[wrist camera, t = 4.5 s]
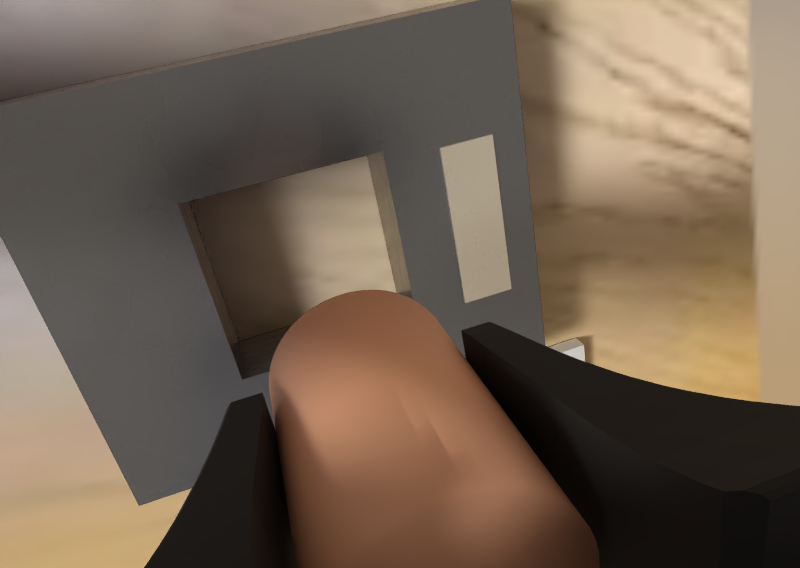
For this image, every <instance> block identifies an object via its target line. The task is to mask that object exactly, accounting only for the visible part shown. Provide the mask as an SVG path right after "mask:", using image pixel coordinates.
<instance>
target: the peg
mask: <svg viewBox="0 0 800 568" xmlns="http://www.w3.org/2000/svg"><path fill="white" fill-rule="evenodd" d="M269 392H270V398H271V405H272V411H273V417H274V424H275V430H276V437H277V443H278V450H279V456H280V463H281V469H282V476H283V482H284V489H285V495H286V502H287V508H288V515H289V521H290V527H291V534H292V540H293V547H294V553H295V560H296V566H297V568H599V567H600V561H599V550H598V546H597V542H596V539H595V537H594V535H593V533H592V531H591V529H590V527H589V526H588V524H587V523H586V522H585V520H584V519H583V518H582V516H581V515H580V513H579V512H578V511H577V509H576V508H575V507H574V505H573V504H572V503H571V501H570V500H569V498H568V497H567V496H566V494H565V493H564V492H563V490H562V489H561V488H560V486H559V485H558V484H557V482H556V481H555V479H554V478H553V477H552V475H551V474H550V473H549V471H548V470H547V469H546V467H545V466H544V465H543V463H542V462H541V460H540V459H539V458H538V456H537V455H536V454H535V452H534V451H533V450H532V448H531V447H530V446H529V444H528V443H527V441H526V440H525V439H524V437H523V436H522V435H521V433H520V432H519V431H518V429H517V428H516V426H515V425H514V424H513V422H512V421H511V420H510V418H509V417H508V416H507V414H506V413H505V412H504V410H503V409H502V407H501V406H500V405H499V403H498V402H497V401H496V399H495V398H494V397H493V395H492V394H491V393H490V391H489V390H488V388H487V387H486V386H485V384H484V383H483V382H482V380H481V379H480V378H479V376H478V375H477V373H476V372H475V371H474V369H473V368H472V367H471V365H470V364H469V363H468V361H467V360H466V359H465V357H464V356H463V354H462V353H461V352H460V350H459V349H458V348H457V346H456V345H455V344H454V342H453V341H452V340H451V338H450V337H449V335H448V334H447V333H446V331H445V330H444V329H443V327H442V326H441V325H440V323H439V322H438V321H437V319H436V318H435V317H434V315H433V314H432V313H431V312H430V311H429V310H428V309H427V308H425V307H424V306H422V305H421V304H420V303H418V302H417V301H415V300H413V299H411V298H409V297H407V296H404V295H401V294H398V293H394V292H389V291H382V290H361V291H355V292H349V293H345V294H342V295H339V296H335V297H333V298H331V299H328V300H326V301H324V302H322V303H320V304H319V305H317V306H315V307H313V308H312V309H310V310H309V311H308V312H306V313H305V314H304V315H302V316H301V317H300V318H299V319H298V320H297V321H296V322H295V323H294V324H293V325H292V326H291V327H290V329H289V330H288V331H287V332H286V333H285V335H284V336H283V338H282V340H281V341H280V343H279V344H278V346H277V349H276V351H275V353H274V355H273V359H272V362H271V366H270V372H269Z"/></svg>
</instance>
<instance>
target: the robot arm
mask: <svg viewBox="0 0 800 568" xmlns="http://www.w3.org/2000/svg"><path fill="white" fill-rule="evenodd" d="M461 332H462V339H463V345H464V351H465V357H466V360H467V361H468V363H469V364H470V365H471V367H472V368H473V369H474V371H475V372H476V373H477V375H478V376H479V378H480V379H481V380H482V382H483V383H484V384H485V386H486V387H487V388H488V390H489V391H490V393H491V394H492V395H493V397H494V398H495V399H496V401H497V402H498V403H499V405H500V406H501V407H502V409H503V410H504V412H505V413H506V414H507V416H508V417H509V418H510V420H511V421H512V422H513V424H514V425H515V426H516V428H517V429H518V431H519V432H520V433H521V435H522V436H523V437H524V439H525V440H526V441H527V443H528V444H529V446H530V447H531V448H532V450H533V451H534V452H535V454H536V455H537V456H538V458H539V459H540V460H541V462H542V463H543V465H544V466H545V467H546V469H547V470H548V471H549V473H550V474H551V475H552V477H553V478H554V479H555V481H556V482H557V484H558V485H559V486H560V488H561V489H562V490H563V492H564V493H565V494H566V496H567V497H568V498H569V500H570V501H571V503H572V504H573V505H574V507H575V508H576V509H577V511H578V512H579V513H580V515H581V516H582V518H583V519H584V520H585V522H586V523H587V524H588V526H589V527H590V529H591V531H592V533H593V535H594V537H595V539H596V542H597V546H598V550H599V561H600V567H599V568H800V406H790V405H781V404H771V403H762V402H753V401H745V400H738V399H731V398H724V397H718V396H713V395H707V394H702V393H696V392H691V391H685V390H681V389H676V388H672V387H667V386H663V385H659V384H655V383H652V382H648V381H644V380H640V379H636V378H633V377H629V376H626V375H623V374H619V373H616V372H613V371H610V370H607V369H604V368H601V367H599V366H596V365H593V364H590V363H587V362H584V361H582V360H579V359H576V358H574V357H571V356H569V355H566V354H564V353H561V352H559V351H556V350H554V349H552V348H549V347H547V346H545V345H542V344H540V343H538V342H535V341H533V340H531V339H529V338H526V337H524V336H522V335H520V334H517V333H515V332H513V331H511V330H508V329H506V328H504V327H502V326H499V325H497V324H494V323H492V322H486V323H483V324H480V325H477V326H474V327H470V328H467V329H464V330H461ZM144 568H297V566H296V560H295V553H294V547H293V540H292V534H291V527H290V521H289V515H288V508H287V502H286V495H285V489H284V482H283V476H282V469H281V463H280V456H279V450H278V443H277V437H276V430H275V427H274V424H273V422H272V419H271V416H270V413H269V410H268V407H267V404H266V401H265V398H264V396H263V393H259V394H256V395H253V396H249V397H246V398H243V399H240V400H237V401H233V402H231V403H230V404H229V406H228V408H227V409H226V412H225V415H224V417H223V420H222V423H221V425H220V428H219V430H218V433H217V435H216V438H215V440H214V442H213V445H212V447H211V449H210V452H209V454H208V456H207V458H206V460H205V463H204V465H203V467H202V469H201V471H200V473H199V475H198V478H197V480H196V482H195V484H194V486H193V488H192V489H191V491H190V493H189V495H188V497H187V499H186V500H185V502H184V504H183V506H182V508H181V510H180V511H179V513H178V515H177V517H176V519H175V520H174V522H173V524H172V526H171V527H170V529H169V530H168V532H167V534H166V535H165V537H164V539H163V540H162V542H161V543H160V545H159V546H158V548H157V549H156V551H155V552H154V554H153V555H152V557H151V558H150V560H149V561H148V563H147V564H146V566H145V567H144Z"/></svg>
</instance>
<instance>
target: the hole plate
mask: <svg viewBox="0 0 800 568" xmlns="http://www.w3.org/2000/svg"><path fill="white" fill-rule="evenodd" d="M366 155H367V157H368V162H369V166H370V171H371V176H372V180H373V185H374V189H375V194H376V199H377V203H378V208H379V213H380V217H381V222H382V226H383V231H384V236H385V240H386V245H387V250H388V254H389V259H390V264H391V268H392V273H393V277H394V282H395V287H396V291H397V293H398V294H401V295H404V296H407V297H409V298H411V299H413V300H415V301H417V302H418V303H420V304H421V305H422V306H424V307H425V308H427V309H428V310H429V311H430V312H431V313H432V314H433V315H434V317H435V318H436V319H437V321H438V322H439V323H440V325H441V326H442V327H443V329H444V330H445V331H446V333H447V334H448V335H449V337H450V338H451V340H452V341H453V342H454V344H455V345H456V346H457V348H458V349H459V350H460V352H461V353H462V354H463V356H464V357H465V351H464V345H463V339H462V332H461V330H464V329H467V328H470V327H474V326H477V325H480V324H483V323H486V322H492V323H494V324H497V325H499V326H502V327H504V328H506V329H508V330H511V331H513V332H515V333H517V334H520V335H522V336H524V337H526V338H529V339H531V340H533V341H535V342H538V343H540V344H542V345H545V339H544V329H543V319H542V309H541V299H540V289H539V279H538V269H537V259H536V249H535V239H534V229H533V219H532V209H531V199H530V189H529V179H528V169H527V159H526V149H525V139H524V129H523V119H522V109H521V99H520V89H519V79H518V69H517V59H516V49H515V39H514V29H513V19H512V9H511V0H457V1H452V2H448V3H443V4H439V5H434V6H430V7H425V8H421V9H416V10H412V11H407V12H403V13H398V14H394V15H389V16H384V17H380V18H375V19H371V20H366V21H362V22H357V23H353V24H348V25H344V26H339V27H335V28H330V29H326V30H321V31H316V32H312V33H307V34H303V35H298V36H294V37H289V38H285V39H280V40H276V41H271V42H267V43H262V44H258V45H253V46H249V47H244V48H239V49H235V50H230V51H226V52H221V53H217V54H212V55H208V56H203V57H199V58H194V59H190V60H185V61H181V62H176V63H171V64H167V65H162V66H158V67H153V68H149V69H144V70H140V71H135V72H131V73H126V74H122V75H117V76H113V77H108V78H103V79H99V80H94V81H90V82H85V83H81V84H76V85H72V86H67V87H63V88H58V89H54V90H49V91H45V92H40V93H36V94H31V95H26V96H22V97H17V98H13V99H8V100H4V101H0V235H1V237H2V239H3V241H4V243H5V245H6V247H7V249H8V251H9V253H10V255H11V257H12V259H13V261H14V263H15V265H16V267H17V269H18V271H19V273H20V274H21V276H22V278H23V280H24V282H25V284H26V286H27V288H28V290H29V292H30V294H31V296H32V298H33V300H34V302H35V304H36V306H37V308H38V310H39V312H40V313H41V315H42V317H43V319H44V321H45V323H46V325H47V327H48V329H49V331H50V333H51V335H52V337H53V339H54V341H55V343H56V345H57V347H58V349H59V351H60V352H61V354H62V356H63V358H64V360H65V362H66V364H67V366H68V368H69V370H70V372H71V374H72V376H73V378H74V380H75V382H76V384H77V386H78V388H79V390H80V391H81V393H82V395H83V397H84V399H85V401H86V403H87V405H88V407H89V409H90V411H91V413H92V415H93V417H94V419H95V421H96V423H97V425H98V427H99V429H100V430H101V432H102V434H103V436H104V438H105V440H106V442H107V444H108V446H109V448H110V450H111V452H112V454H113V456H114V458H115V460H116V462H117V464H118V466H119V468H120V469H121V471H122V473H123V475H124V477H125V479H126V481H127V483H128V485H129V487H130V489H131V491H132V493H133V495H134V497H135V499H136V501H137V503H138V505H139V506H140V505H143V504H146V503H149V502H152V501H155V500H158V499H161V498H164V497H167V496H170V495H173V494H176V493H178V492H181V491H184V490H187V489H190V488H193V486H194V484H195V482H196V480H197V478H198V475H199V473H200V471H201V469H202V467H203V465H204V463H205V460H206V458H207V456H208V454H209V452H210V449H211V447H212V445H213V442H214V440H215V438H216V435H217V433H218V430H219V428H220V425H221V423H222V420H223V417H224V415H225V412H226V409H227V408H228V406H229V404H230V403H231V402H233V401H237V400H240V399H243V398H246V397H249V396H253V395H256V394H259V393H263V396H264V398H265V401H266V404H267V407H268V410H269V413H270V416H271V419H272V422H273V424H274V417H273V411H272V405H271V398H270V392H269V372H270V366H271V362H272V359H273V355H274V353H275V351H276V349H277V346H278V344H279V343H280V341H281V340H282V338H283V336H284V335H285V333H286V332H287V331H288V330H289V329H290V327H291V326H288V327H285V328H282V329H278V330H275V331H272V332H268V333H265V334H262V335H259V336H255V337H252V338H249V339H245V340H242V341H239V340H238V337H237V334H236V332H235V329H234V326H233V323H232V321H231V318H230V315H229V312H228V309H227V307H226V304H225V301H224V298H223V295H222V293H221V290H220V287H219V284H218V281H217V279H216V276H215V273H214V270H213V267H212V265H211V262H210V259H209V256H208V253H207V251H206V248H205V245H204V242H203V239H202V237H201V234H200V231H199V228H198V225H197V223H196V220H195V217H194V214H193V211H192V209H191V206H190V203H189V201H192V200H196V199H200V198H204V197H207V196H211V195H215V194H219V193H223V192H227V191H231V190H234V189H238V188H242V187H246V186H250V185H254V184H258V183H261V182H265V181H269V180H273V179H277V178H281V177H285V176H288V175H292V174H296V173H300V172H304V171H308V170H312V169H315V168H319V167H323V166H327V165H331V164H335V163H339V162H342V161H346V160H350V159H354V158H358V157H362V156H366ZM465 359H466V357H465ZM274 427H275V424H274Z"/></svg>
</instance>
